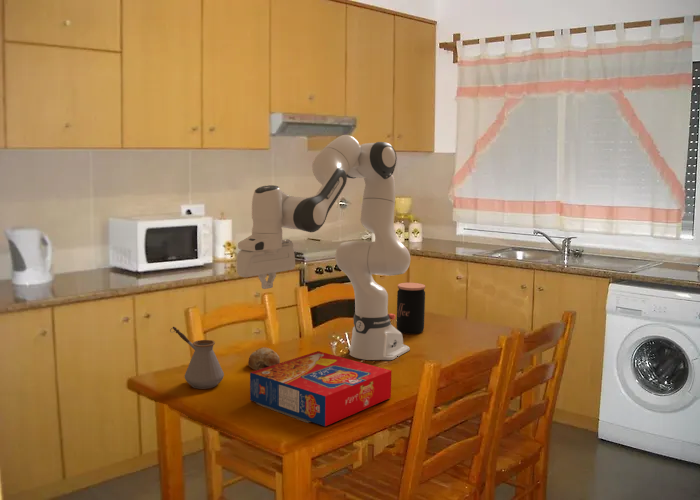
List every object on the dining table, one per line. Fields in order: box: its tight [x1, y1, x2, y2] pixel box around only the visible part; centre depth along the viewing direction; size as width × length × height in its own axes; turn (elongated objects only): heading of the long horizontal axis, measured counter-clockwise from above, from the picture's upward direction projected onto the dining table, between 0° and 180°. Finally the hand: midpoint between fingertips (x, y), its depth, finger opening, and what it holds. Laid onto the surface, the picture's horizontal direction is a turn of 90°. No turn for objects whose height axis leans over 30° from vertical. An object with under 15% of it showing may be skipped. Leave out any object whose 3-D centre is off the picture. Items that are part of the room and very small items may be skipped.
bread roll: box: [248, 346, 281, 371], centre depth 231 cm, size 10×10×8 cm
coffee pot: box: [169, 326, 225, 390], centre depth 215 cm, size 21×12×15 cm, turn 49°
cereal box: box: [249, 350, 392, 427], centre depth 201 cm, size 28×8×28 cm
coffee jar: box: [395, 282, 426, 335], centre depth 277 cm, size 11×11×18 cm
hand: (267, 288), depth 211 cm, fingers closed
